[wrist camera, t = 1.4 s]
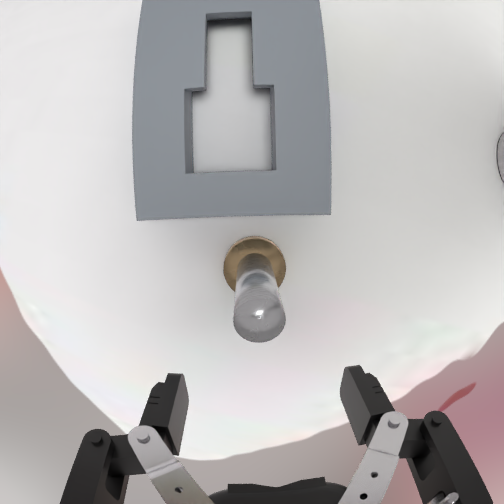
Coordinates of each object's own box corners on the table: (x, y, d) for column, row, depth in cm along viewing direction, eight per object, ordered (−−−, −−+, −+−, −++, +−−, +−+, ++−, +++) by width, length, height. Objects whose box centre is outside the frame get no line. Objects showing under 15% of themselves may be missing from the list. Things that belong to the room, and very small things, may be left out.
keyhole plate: (308, -3, 22) (315, -20, 18) (319, 208, 29) (330, 214, 25) (154, 4, 22) (144, -12, 18) (150, 214, 29) (136, 220, 25)
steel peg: (284, 235, 30) (307, 276, 18) (283, 291, 32) (302, 355, 20) (223, 236, 30) (209, 279, 18) (226, 293, 32) (217, 358, 20)
